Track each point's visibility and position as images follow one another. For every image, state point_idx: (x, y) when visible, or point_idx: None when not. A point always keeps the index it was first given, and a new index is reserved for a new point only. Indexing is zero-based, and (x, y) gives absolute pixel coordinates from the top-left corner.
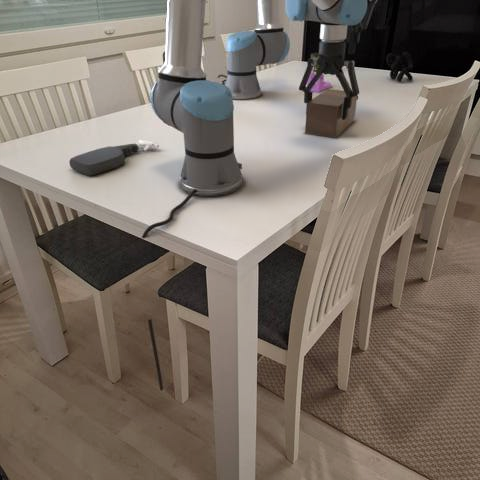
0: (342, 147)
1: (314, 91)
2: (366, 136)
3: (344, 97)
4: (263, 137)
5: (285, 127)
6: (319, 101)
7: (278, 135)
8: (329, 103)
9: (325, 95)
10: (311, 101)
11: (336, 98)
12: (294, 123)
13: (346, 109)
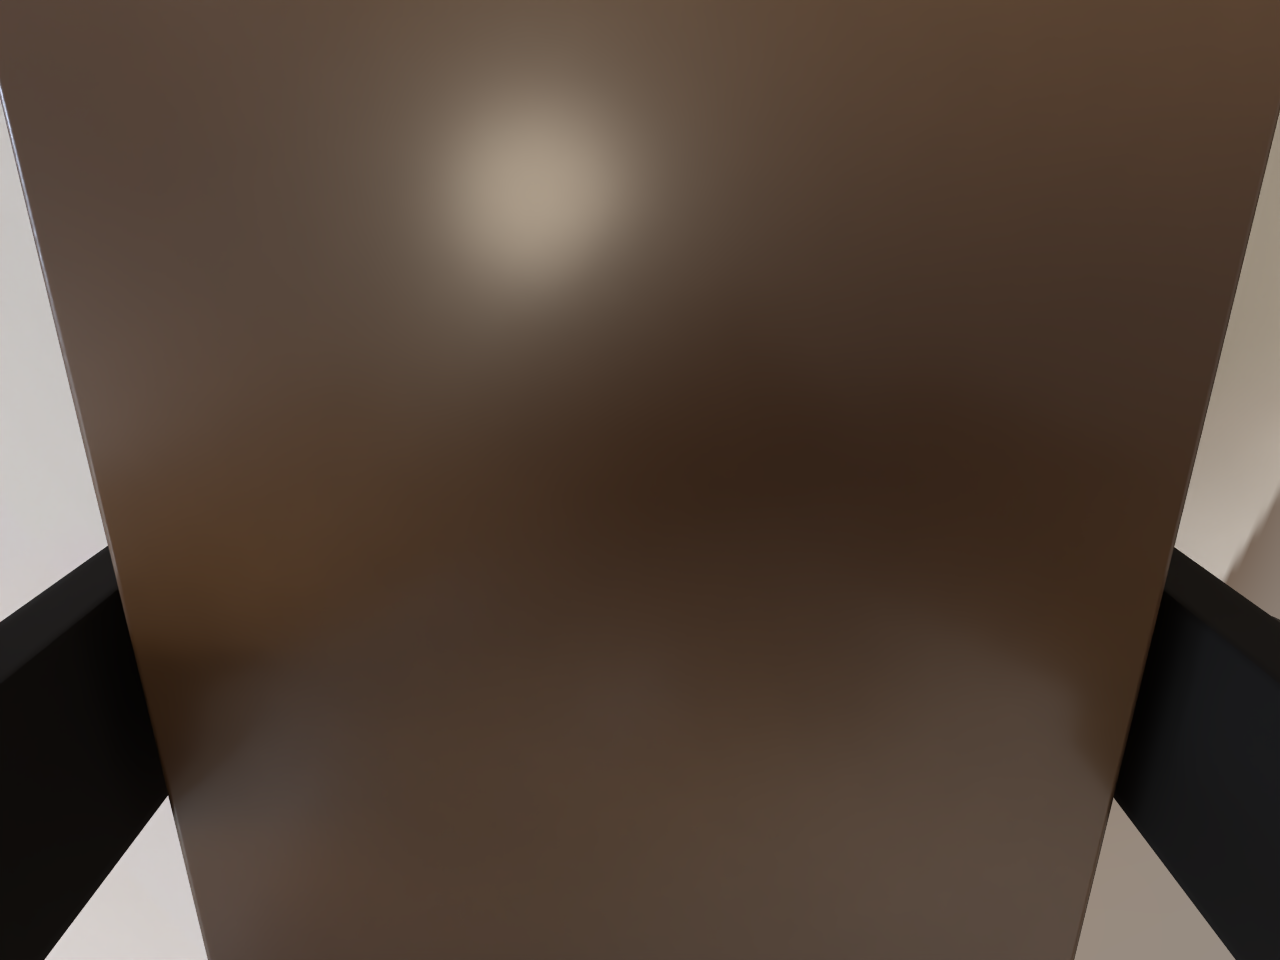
0: None
1: None
2: (1273, 388)
3: (1088, 106)
4: (70, 928)
5: (39, 514)
6: (462, 882)
7: (170, 816)
8: (777, 941)
9: (289, 124)
10: (273, 948)
11: (823, 378)
12: (24, 267)
13: None
